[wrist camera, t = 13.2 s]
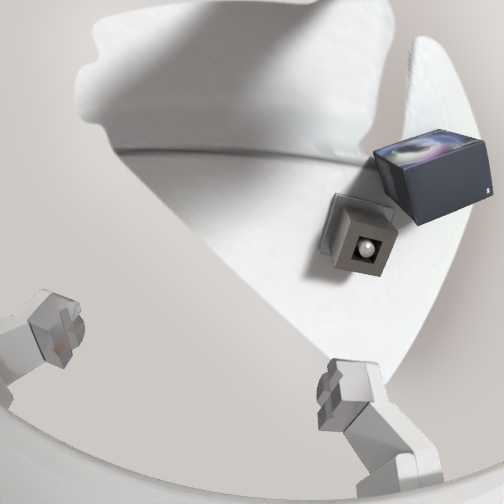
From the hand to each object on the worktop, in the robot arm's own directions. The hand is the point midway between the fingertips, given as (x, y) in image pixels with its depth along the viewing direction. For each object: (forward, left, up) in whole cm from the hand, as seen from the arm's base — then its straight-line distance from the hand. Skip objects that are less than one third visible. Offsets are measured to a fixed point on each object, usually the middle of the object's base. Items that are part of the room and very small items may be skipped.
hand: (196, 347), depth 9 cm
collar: (+6, +14, -28) cm, 32 cm away
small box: (-5, +19, -29) cm, 35 cm away
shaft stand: (+6, +14, -29) cm, 33 cm away
